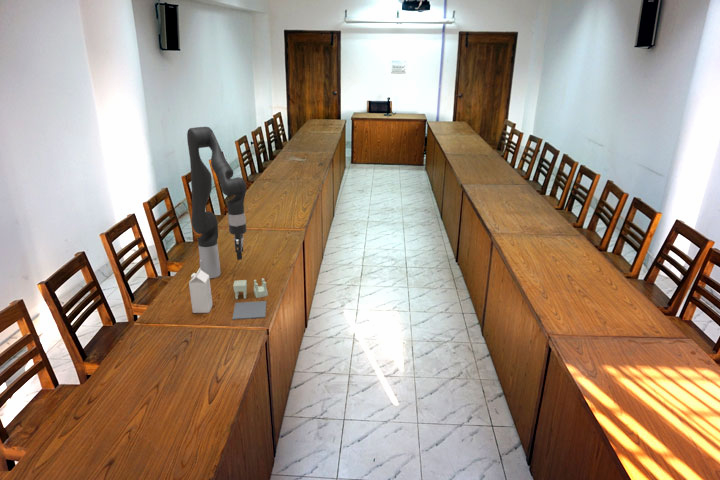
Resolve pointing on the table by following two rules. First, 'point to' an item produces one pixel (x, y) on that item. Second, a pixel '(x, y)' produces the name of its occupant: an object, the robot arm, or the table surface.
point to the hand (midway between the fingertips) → (240, 255)
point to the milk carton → (200, 292)
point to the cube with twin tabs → (240, 288)
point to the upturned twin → (260, 289)
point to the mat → (249, 310)
